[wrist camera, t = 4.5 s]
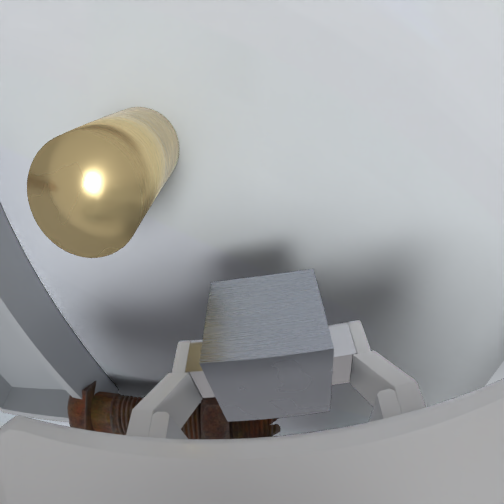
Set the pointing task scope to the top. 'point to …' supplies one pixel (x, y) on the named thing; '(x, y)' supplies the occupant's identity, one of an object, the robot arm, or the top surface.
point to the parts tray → (37, 343)
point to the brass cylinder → (101, 180)
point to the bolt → (196, 427)
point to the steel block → (268, 347)
